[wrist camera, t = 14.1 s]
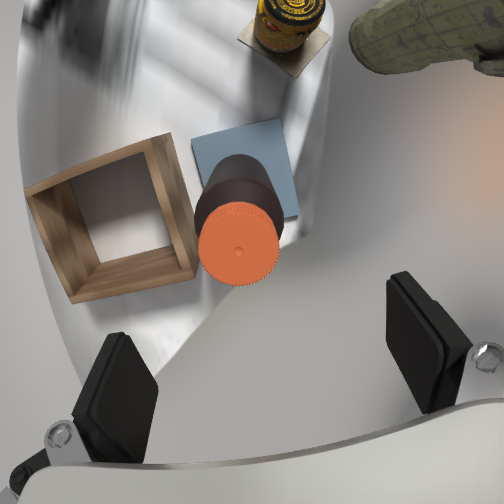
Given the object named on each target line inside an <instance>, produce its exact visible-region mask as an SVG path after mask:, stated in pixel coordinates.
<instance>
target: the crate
mask: <svg viewBox="0 0 504 504" xmlns="http://www.w3.org/2000/svg"><path fill="white" fill-rule="evenodd" d="M143 151H144V155H145V158H146V162H147V165H148V168H149V172H150V175H151V178H152V182H153V185H154V188H155V191H156V194H157V198H158V201H159V204H160V207H161V210H162V213H163V216H164V219H165V222H166V225H167V228H168V231H169V234H170V237H171V240H172V243H173V245H171V246H167V247H163V248H159V249H155V250H151V251H147V252H143V253H139V254H135V255H131V256H127V257H123V258H119V259H115V260H111V261H107V262H104V263H100V261H99V259H98V256H97V254H96V251H95V249H94V247H93V244H92V242H91V239H90V237H89V234H88V231H87V229H86V226H85V224H84V221H83V218H82V216H81V213H80V210H79V207H78V205H77V202H76V199H75V196H74V193H73V190H72V187H71V184H70V181H69V179H70V178H73V177H75V176H78V175H80V174H83V173H85V172H88V171H90V170H93V169H95V168H98V167H101V166H103V165H106V164H109V163H111V162H114V161H117V160H120V159H123V158H125V157H128V156H131V155H134V154H137V153H140V152H143ZM24 193H25V196H26V199H27V202H28V205H29V208H30V210H31V213H32V216H33V218H34V221H35V224H36V226H37V229H38V231H39V234H40V236H41V239H42V241H43V244H44V246H45V248H46V251H47V253H48V255H49V258H50V260H51V262H52V264H53V266H54V269H55V271H56V273H57V275H58V277H59V279H60V281H61V283H62V286H63V288H64V290H65V292H66V294H67V296H68V298H69V300H70V301H71V303H72V304H77V303H82V302H87V301H92V300H97V299H102V298H107V297H111V296H116V295H121V294H126V293H131V292H136V291H140V290H145V289H150V288H155V287H159V286H164V285H169V284H173V283H178V282H183V281H187V280H192V279H195V276H196V272H197V269H198V265H199V261H200V258H199V255H198V253H199V252H198V241H199V239H198V237H197V235H196V233H195V227H194V213H193V209H192V206H191V203H190V199H189V196H188V192H187V189H186V186H185V182H184V179H183V175H182V172H181V168H180V165H179V161H178V158H177V154H176V151H175V147H174V143H173V140H172V136H171V132H170V133H166V134H163V135H159V136H156V137H153V138H149V139H146V140H143V141H140V142H137V143H135V144H132V145H129V146H126V147H123V148H120V149H118V150H115V151H112V152H110V153H107V154H104V155H102V156H99V157H97V158H94V159H92V160H89V161H87V162H84V163H82V164H79V165H77V166H75V167H72V168H70V169H68V170H65V171H63V172H61V173H58V174H56V175H54V176H52V177H50V178H47V179H45V180H43V181H41V182H39V183H37V184H35V185H32V186H30V187H28V188H26V189H24Z"/></svg>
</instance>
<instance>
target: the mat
mask: <svg viewBox="0 0 504 504" xmlns="http://www.w3.org/2000/svg"><path fill="white" fill-rule="evenodd" d="M191 142H192V146H193V150H194V153H195V157H196V161H197V164H198V168H199V172H200V175H201V179H202V182H203V186H204V188H205V186H206V184H207V182H208V180H209V178H210V176H211V174H212V171H213V170H214V168H215V167H216V165H217V164H218V163H219V162H220V161H221V160H223V159H224V158H226V157H228V156H231V155H234V154H244V155H248V156H252V157H253V158H255V159H256V160H258V161H260V163H261V164H262V165H263V166H264V168H265V169H266V172H267V174H268V176H269V178H270V180H271V183H272V185H273V187H274V189H275V192H276V194H277V196H278V199H279V201H280V204H281V207H282V210H283V212H284V218H286V217H291V216H295V215H300V212H299V206H298V201H297V196H296V191H295V186H294V181H293V176H292V171H291V166H290V161H289V157H288V152H287V147H286V143H285V138H284V133H283V129H282V125H281V120H280V118H276V119H271V120H267V121H262V122H257V123H253V124H248V125H244V126H240V127H235V128H231V129H227V130H223V131H219V132H215V133H211V134H208V135H204V136H200V137H197V138H193V139H191Z"/></svg>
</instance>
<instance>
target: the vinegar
mask: <svg viewBox="0 0 504 504" xmlns="http://www.w3.org/2000/svg"><path fill="white" fill-rule="evenodd" d="M194 227H195V233H196V235H197V237H198V239H199V241H198V252H199V253H198V255H199V258H200V261H201V264H203V267H204V268H205V269H206V270H207V272H209V274H210V275H211V277H214V279H217V280H219V281H220V282H223V283H226V284H229V285H232V286H233V285H235V286H237V285H239V286H240V285H242V286H243V285H248V284H249V285H250V284H251V283H252V284H253V283H254V282H255V283H256V282H257V281H259V280H260V279H261V280H262V278H263V277H264V278H265V276H267V274H268V273H270V271H272V268H273V267H274V266H275V263H277V261H276V260H278V257H279V255H278V254H279V250H280V249H279V247H280V246H279V240H280V237H281V234H282V231H283V228H284V212H283V210H282V207H281V204H280V201H279V199H278V196H277V194H276V192H275V189H274V187H273V185H272V183H271V180H270V178H269V176H268V174H267V172H266V169H265V168H264V166H263V165H262V164H261V163H260V161H258V160H256V159H255V158H253V157H252V156H248V155H244V154H234V155H231V156H228V157H226V158H224V159H223V160H221V161H220V162H219V163H218V164H217V165H216V167H215V168H214V170H213V171H212V174H211V176H210V178H209V180H208V182H207V184H206V186H205V188H204V190H203V192H202V194H201V196H200V199H199V201H198V203H197V205H196V210H195V214H194ZM205 269H204V270H205Z"/></svg>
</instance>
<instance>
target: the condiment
mask: <svg viewBox="0 0 504 504" xmlns="http://www.w3.org/2000/svg"><path fill="white" fill-rule="evenodd" d="M325 4H326V3H325V0H259V2H258V5H257V10H256V12H257V13H256V17H255V18H254V19H253V20H252V21H251V22H250V23H249V25H248V26H247V27H246V28H245V29H244V30H243V31H242V32H241V34H240V35H239V36H238V37H237V38H238V39H240V40H241V41H243V42H244V43H246V44H247V45H249V46H250V47H252V48H254V49H255V50H256V51H258V52H259V53H261V54H262V55H264V56H265V57H267V58H268V59H270V60H271V61H273V62H274V63H275V64H277V65H278V66H280V67H281V68H282V69H284V70H285V71H287V72H288V73H290V74H291V75H292V76H294V77H295V78H296V77H297V76H298V75H299V73H300V72H301V71H302V70H303V69H304V68H305V66H306V65H307V64H308V63H309V62H310V60H311V59H312V58H313V57H314V56H315V55H316V53H317V52H318V51H319V50H320V49H321V48H322V47H323V45H324V44H325V43H326V42H327V41H328V40H329V39H330V38H331V37H330V36H329V35H328V34H327V33H325V32H324V31H323V30H321V29H320V28H319V27H318V25H319V23H320V21H321V18H322V15H323V13H324V10H325ZM307 38H308V40H307Z"/></svg>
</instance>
